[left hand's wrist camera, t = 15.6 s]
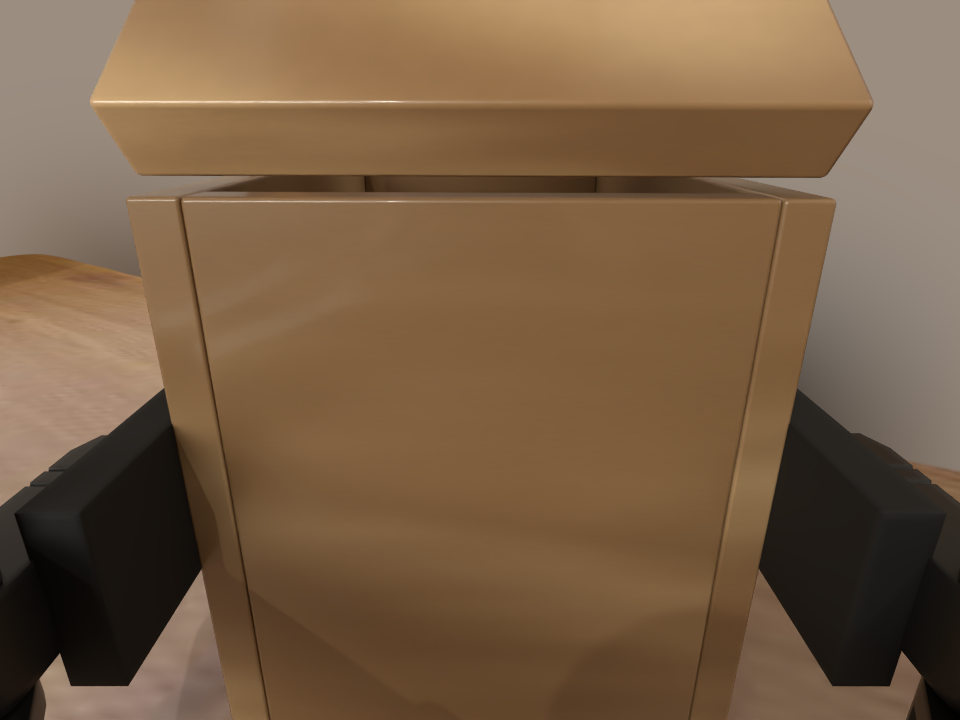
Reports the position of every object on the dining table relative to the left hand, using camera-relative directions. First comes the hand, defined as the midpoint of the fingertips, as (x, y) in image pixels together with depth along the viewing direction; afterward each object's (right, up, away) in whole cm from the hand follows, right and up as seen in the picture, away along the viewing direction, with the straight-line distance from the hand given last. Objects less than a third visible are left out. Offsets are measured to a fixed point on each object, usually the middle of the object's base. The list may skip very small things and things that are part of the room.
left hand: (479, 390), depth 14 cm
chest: (0, -5, +5) cm, 7 cm away
